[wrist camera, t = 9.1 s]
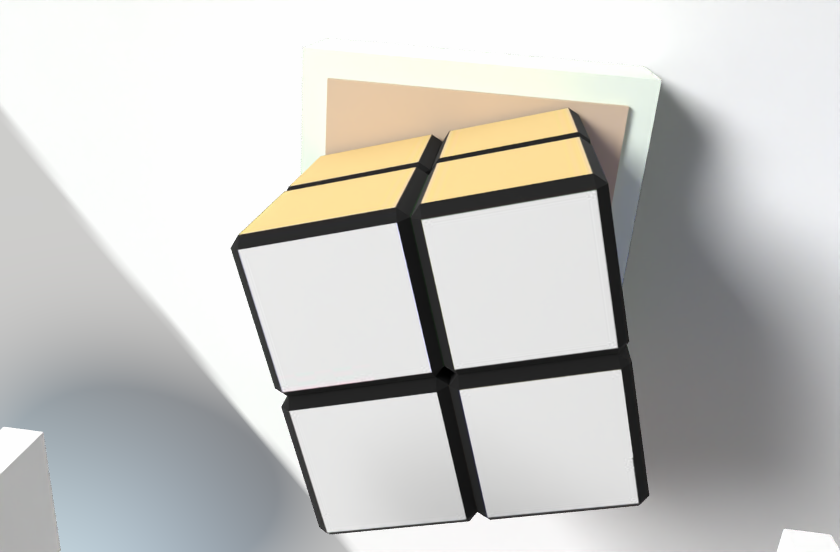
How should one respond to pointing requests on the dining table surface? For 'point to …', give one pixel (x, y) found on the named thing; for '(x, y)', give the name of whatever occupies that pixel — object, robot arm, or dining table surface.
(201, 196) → the dining table surface
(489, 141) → the puzzle cube
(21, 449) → the robot arm
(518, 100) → the plinth
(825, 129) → the dining table surface
